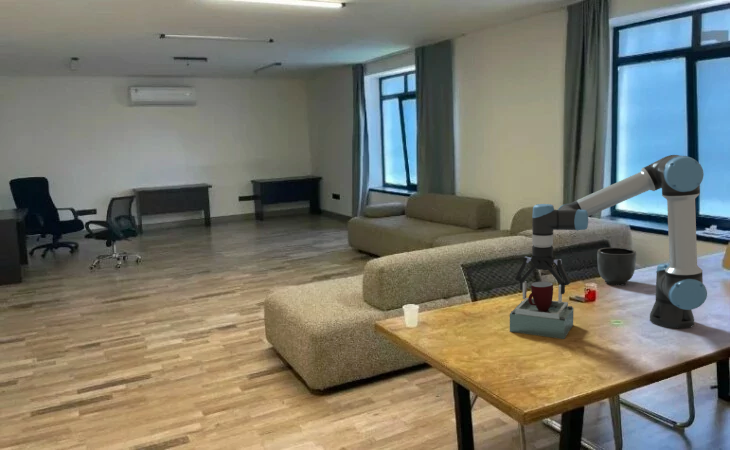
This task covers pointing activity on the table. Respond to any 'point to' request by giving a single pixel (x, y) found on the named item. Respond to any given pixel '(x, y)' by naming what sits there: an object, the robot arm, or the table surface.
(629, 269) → the planter
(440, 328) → the table surface
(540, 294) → the mug
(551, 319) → the grey rectangular container
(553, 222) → the robot arm
